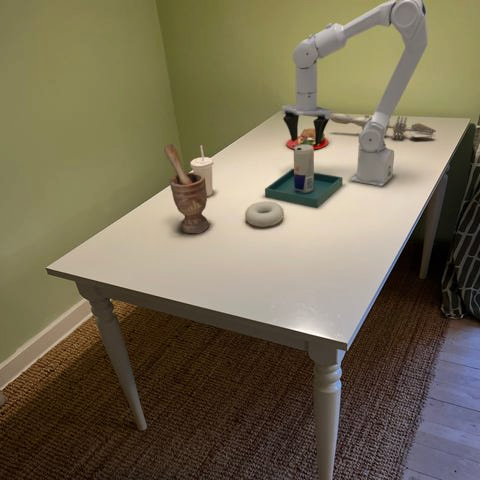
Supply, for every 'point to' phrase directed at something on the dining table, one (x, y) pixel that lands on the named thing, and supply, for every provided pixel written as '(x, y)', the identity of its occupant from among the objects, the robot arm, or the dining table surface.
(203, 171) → the smoothie
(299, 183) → the energy drink
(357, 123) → the cutlery set
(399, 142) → the dining table surface
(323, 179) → the tray
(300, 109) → the robot arm
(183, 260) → the dining table surface
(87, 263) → the dining table surface
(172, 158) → the mortar and pestle
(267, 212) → the donut
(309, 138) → the hamburger
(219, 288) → the dining table surface
